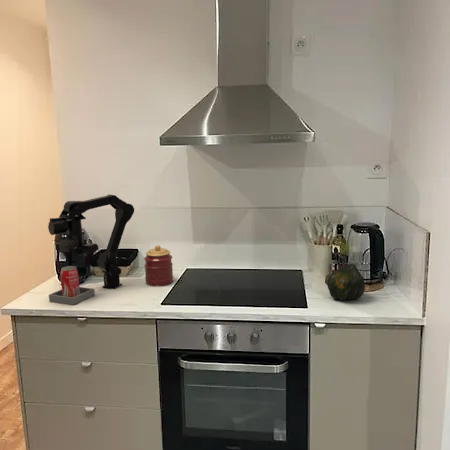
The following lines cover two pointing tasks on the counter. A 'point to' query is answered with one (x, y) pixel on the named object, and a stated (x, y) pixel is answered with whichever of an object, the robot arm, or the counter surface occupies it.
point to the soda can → (70, 281)
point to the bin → (59, 298)
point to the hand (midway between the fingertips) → (78, 266)
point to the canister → (158, 267)
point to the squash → (346, 283)
